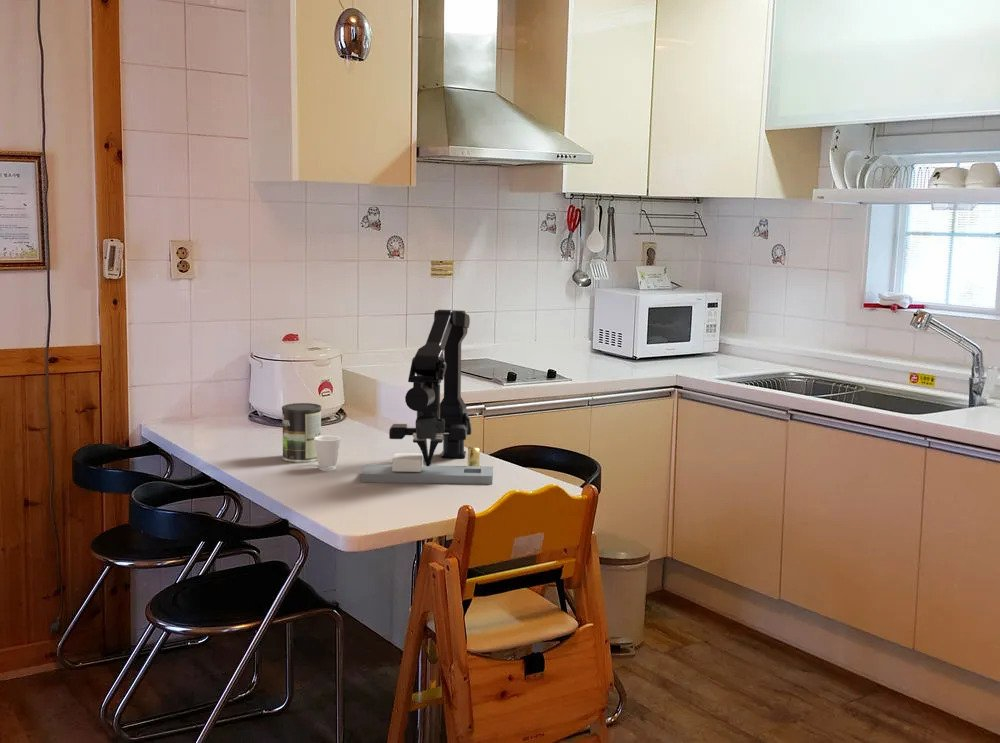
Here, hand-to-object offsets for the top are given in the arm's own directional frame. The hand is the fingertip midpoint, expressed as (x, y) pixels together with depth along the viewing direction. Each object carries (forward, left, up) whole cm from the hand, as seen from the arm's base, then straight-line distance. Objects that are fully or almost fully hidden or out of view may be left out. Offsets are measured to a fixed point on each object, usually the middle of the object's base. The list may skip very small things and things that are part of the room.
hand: (428, 466), depth 255 cm
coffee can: (-19, -35, -3) cm, 40 cm away
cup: (-9, -27, -3) cm, 29 cm away
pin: (-8, +11, -3) cm, 14 cm away
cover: (0, -5, -1) cm, 5 cm away
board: (0, 0, -3) cm, 3 cm away
